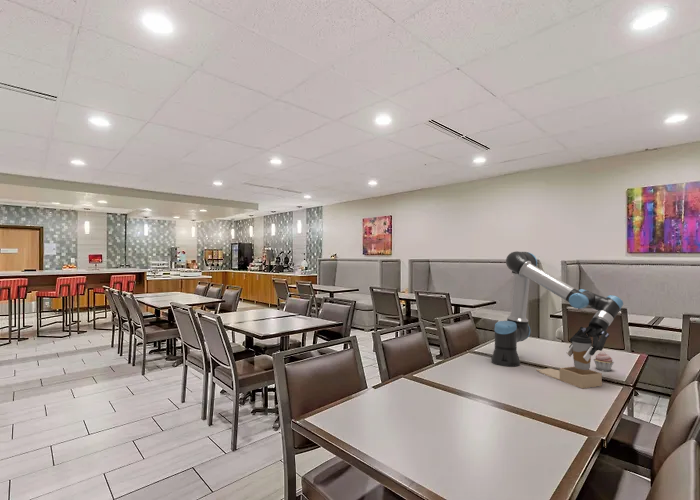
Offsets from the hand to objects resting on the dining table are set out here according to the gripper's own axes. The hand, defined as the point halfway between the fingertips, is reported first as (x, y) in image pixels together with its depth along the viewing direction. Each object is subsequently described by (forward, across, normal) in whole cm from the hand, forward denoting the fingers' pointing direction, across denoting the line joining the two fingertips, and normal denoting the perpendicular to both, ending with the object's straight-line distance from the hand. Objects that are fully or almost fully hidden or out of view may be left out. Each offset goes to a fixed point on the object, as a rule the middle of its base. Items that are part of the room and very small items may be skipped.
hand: (576, 356), depth 173 cm
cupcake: (-16, +14, -35) cm, 41 cm away
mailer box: (+7, +8, -11) cm, 16 cm away
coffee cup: (+2, 0, -6) cm, 7 cm away
